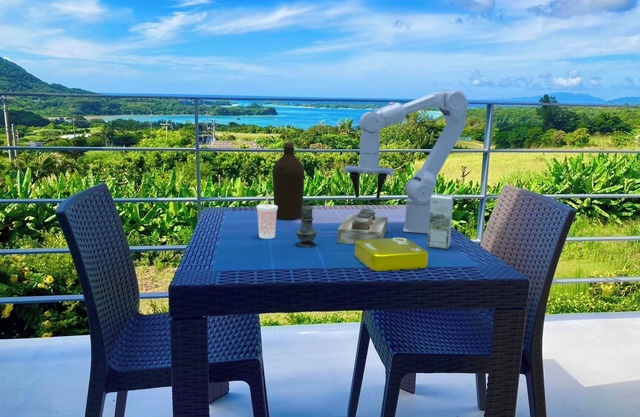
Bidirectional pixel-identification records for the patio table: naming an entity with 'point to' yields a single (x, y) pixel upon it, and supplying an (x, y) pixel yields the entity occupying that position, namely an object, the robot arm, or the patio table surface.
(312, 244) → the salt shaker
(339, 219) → the patio table surface
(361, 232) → the grey square block
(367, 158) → the robot arm
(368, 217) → the beige grey-dot cube
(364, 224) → the cube with pale circle
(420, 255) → the element tile
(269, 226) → the beverage cup
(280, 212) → the olive oil
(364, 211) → the box with round disc
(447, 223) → the syrup box
